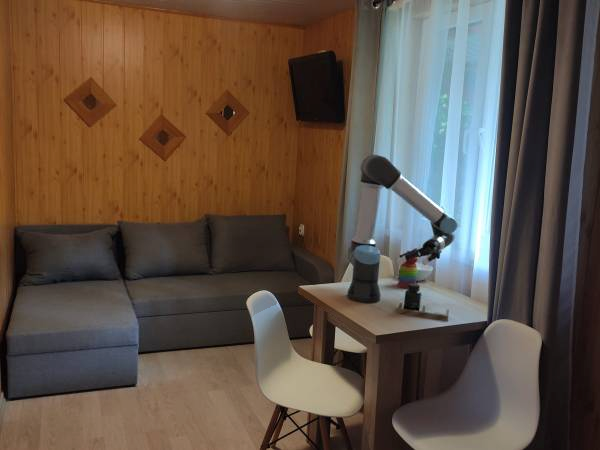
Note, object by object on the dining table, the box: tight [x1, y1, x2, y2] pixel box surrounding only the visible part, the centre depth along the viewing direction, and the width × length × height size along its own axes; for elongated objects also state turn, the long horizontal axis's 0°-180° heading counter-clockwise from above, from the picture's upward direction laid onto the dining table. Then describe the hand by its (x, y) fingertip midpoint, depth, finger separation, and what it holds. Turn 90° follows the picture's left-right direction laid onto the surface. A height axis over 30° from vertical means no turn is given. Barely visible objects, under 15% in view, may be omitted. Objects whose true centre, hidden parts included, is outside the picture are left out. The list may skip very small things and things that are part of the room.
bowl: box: [415, 262, 434, 282], centre depth 311 cm, size 16×16×7 cm
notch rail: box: [396, 302, 450, 321], centre depth 251 cm, size 21×10×2 cm, turn 75°
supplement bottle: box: [402, 283, 422, 311], centre depth 252 cm, size 7×7×12 cm
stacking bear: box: [397, 250, 419, 290], centre depth 294 cm, size 11×10×18 cm
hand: (410, 263), depth 259 cm, fingers open, 13 cm apart
